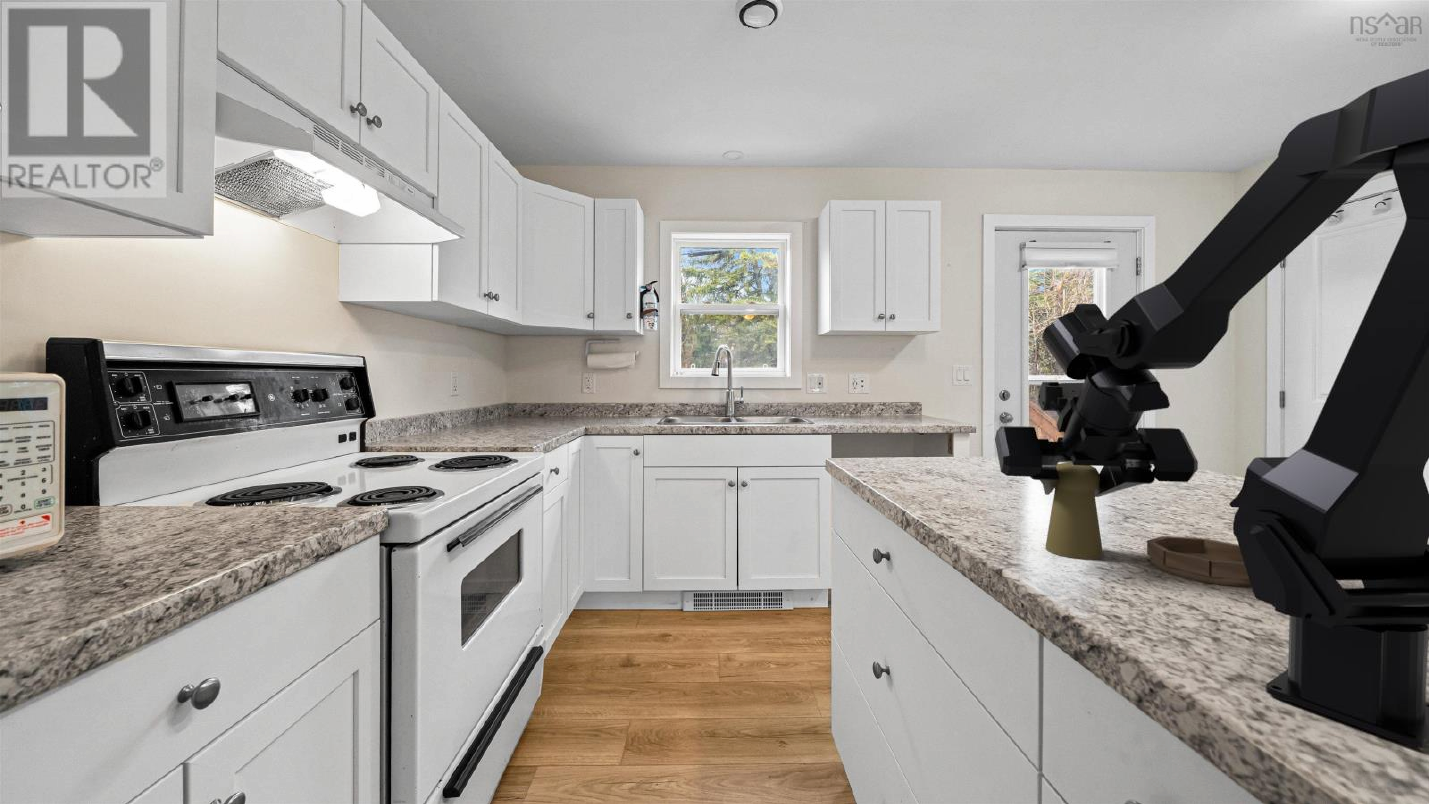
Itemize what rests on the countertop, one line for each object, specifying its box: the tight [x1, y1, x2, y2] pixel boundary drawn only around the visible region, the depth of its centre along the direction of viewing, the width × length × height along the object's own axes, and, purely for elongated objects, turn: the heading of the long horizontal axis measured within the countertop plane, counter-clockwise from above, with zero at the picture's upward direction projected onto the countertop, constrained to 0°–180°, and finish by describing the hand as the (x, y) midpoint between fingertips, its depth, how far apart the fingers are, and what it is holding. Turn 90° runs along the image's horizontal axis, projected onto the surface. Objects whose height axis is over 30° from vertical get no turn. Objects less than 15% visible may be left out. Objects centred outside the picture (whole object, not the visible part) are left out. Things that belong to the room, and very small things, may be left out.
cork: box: [1045, 462, 1104, 560], centre depth 66 cm, size 6×6×11 cm
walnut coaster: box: [1146, 535, 1252, 588], centre depth 59 cm, size 10×10×2 cm
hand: (1070, 492), depth 67 cm, fingers closed on cork, 5 cm apart
